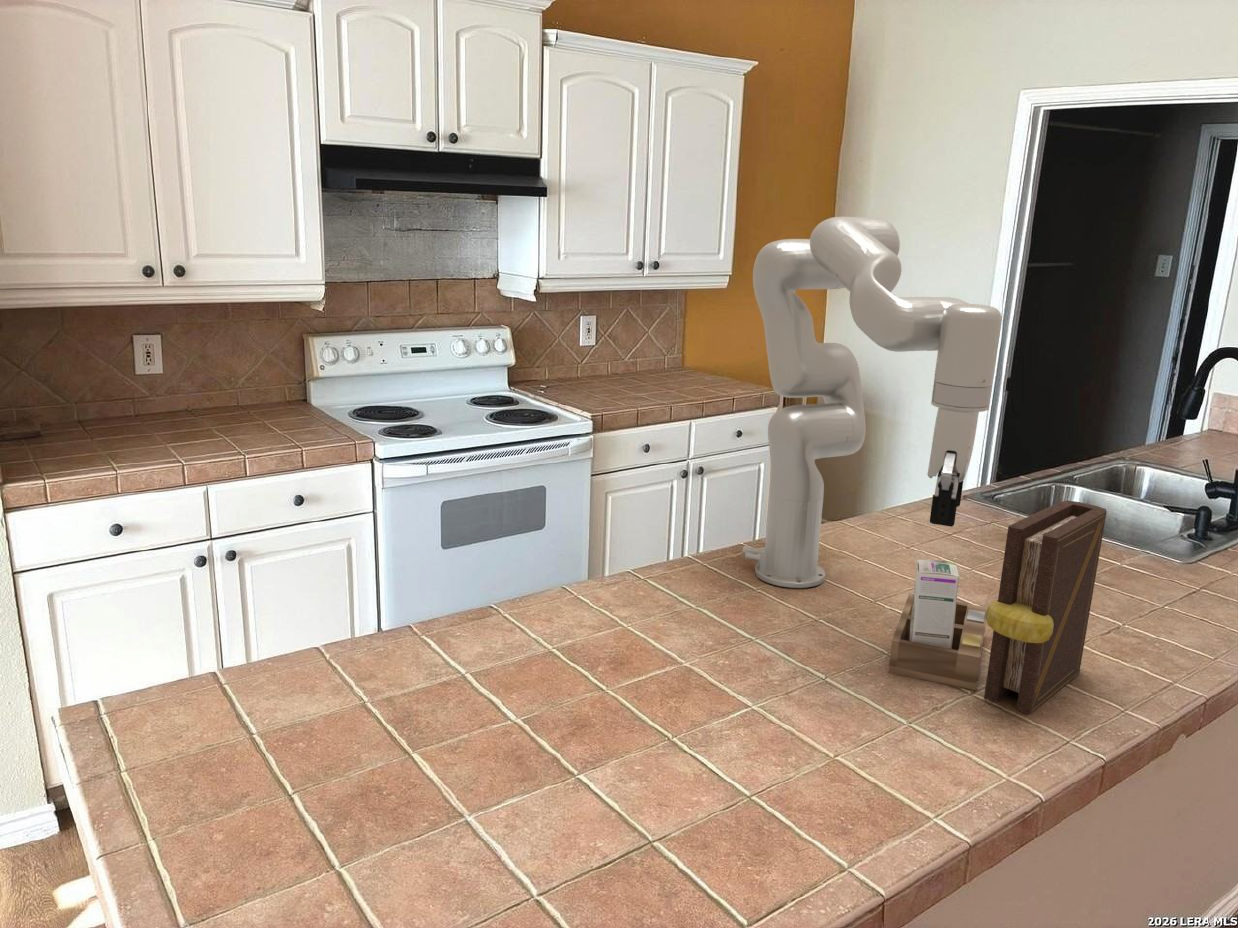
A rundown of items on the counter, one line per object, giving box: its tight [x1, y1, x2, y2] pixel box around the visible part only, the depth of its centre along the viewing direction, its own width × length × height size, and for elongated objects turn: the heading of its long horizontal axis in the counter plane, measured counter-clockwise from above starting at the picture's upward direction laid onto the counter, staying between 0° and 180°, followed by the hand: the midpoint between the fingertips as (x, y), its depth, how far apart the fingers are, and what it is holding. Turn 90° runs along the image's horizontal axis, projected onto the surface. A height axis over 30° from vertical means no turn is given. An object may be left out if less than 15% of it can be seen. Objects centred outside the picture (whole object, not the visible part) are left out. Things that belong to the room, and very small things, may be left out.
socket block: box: [888, 593, 989, 691], centre depth 143 cm, size 20×12×5 cm, turn 157°
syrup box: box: [909, 559, 960, 649], centre depth 138 cm, size 6×6×14 cm
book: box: [983, 500, 1108, 716], centre depth 131 cm, size 22×8×25 cm, turn 134°
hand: (945, 514), depth 135 cm, fingers open, 9 cm apart
